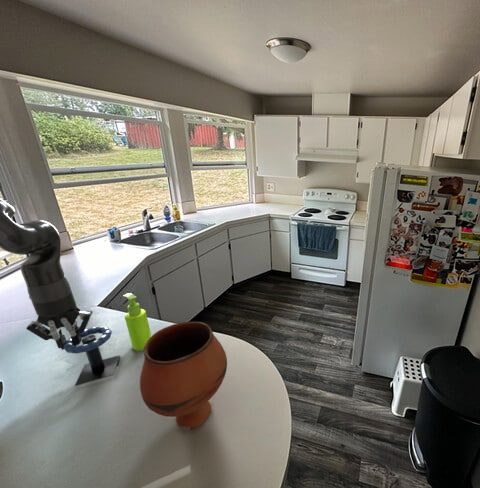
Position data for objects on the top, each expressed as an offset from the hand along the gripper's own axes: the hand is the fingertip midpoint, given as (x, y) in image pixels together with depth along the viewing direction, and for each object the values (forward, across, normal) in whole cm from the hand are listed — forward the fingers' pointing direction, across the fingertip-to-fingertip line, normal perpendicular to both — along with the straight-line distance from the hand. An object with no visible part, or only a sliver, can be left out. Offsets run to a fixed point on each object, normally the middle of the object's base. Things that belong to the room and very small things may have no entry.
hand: (71, 345), depth 73 cm
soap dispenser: (+12, -14, -9) cm, 20 cm away
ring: (-1, -4, 0) cm, 4 cm away
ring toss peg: (+12, -4, 0) cm, 12 cm away
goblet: (+12, -30, +28) cm, 43 cm away
